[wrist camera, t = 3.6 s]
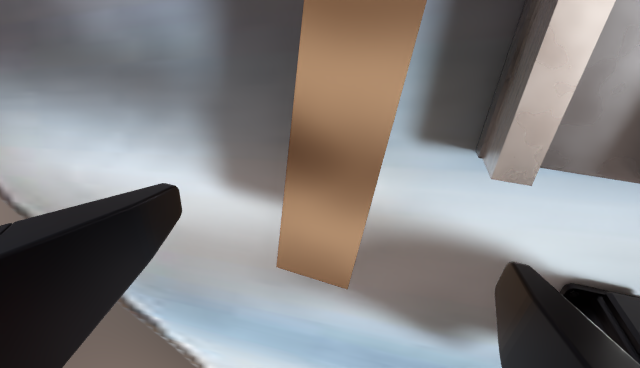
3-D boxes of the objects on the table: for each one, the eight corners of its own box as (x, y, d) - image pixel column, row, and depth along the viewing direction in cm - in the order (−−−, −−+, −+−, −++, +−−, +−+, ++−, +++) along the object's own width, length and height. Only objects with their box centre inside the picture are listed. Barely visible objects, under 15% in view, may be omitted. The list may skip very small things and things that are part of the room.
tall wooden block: (365, 216, 23) (347, 289, 17) (312, 201, 23) (276, 267, 18) (427, -13, 16) (433, -25, 10) (348, -25, 16) (308, -43, 10)
